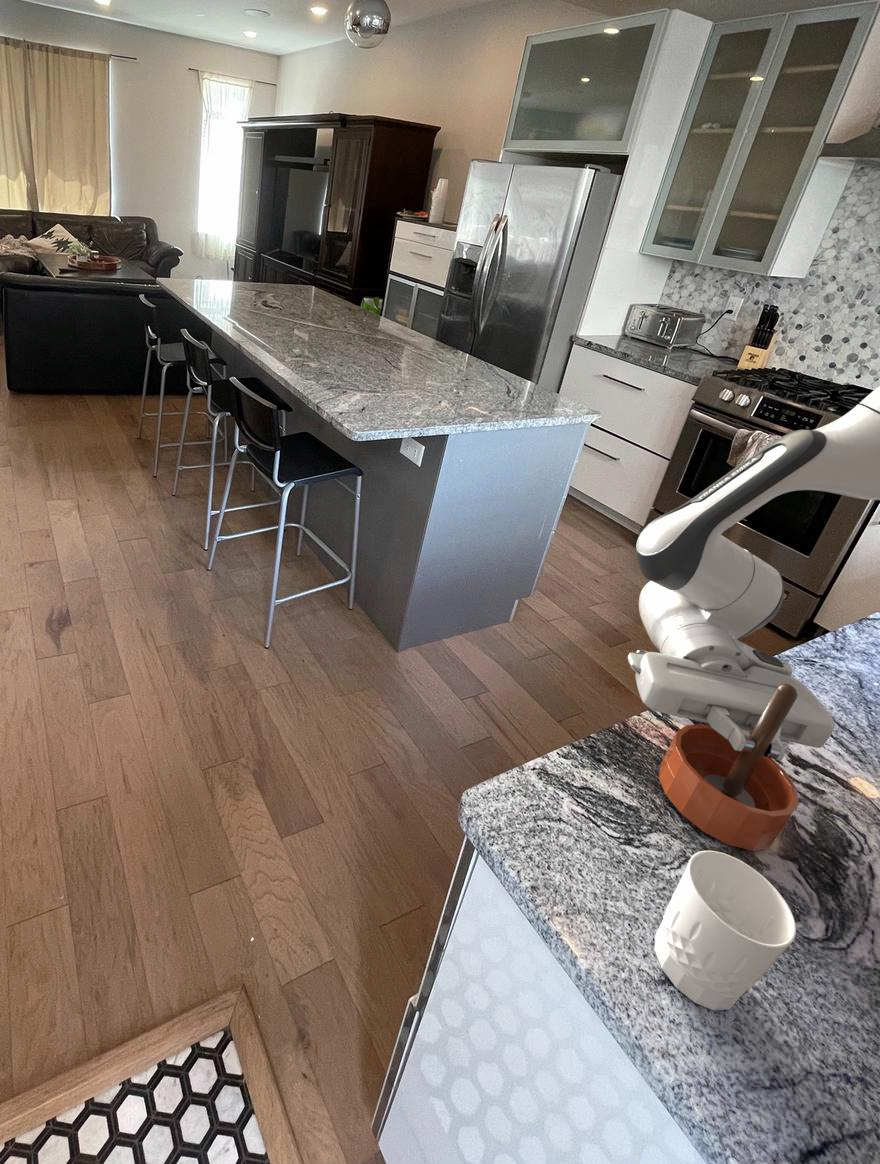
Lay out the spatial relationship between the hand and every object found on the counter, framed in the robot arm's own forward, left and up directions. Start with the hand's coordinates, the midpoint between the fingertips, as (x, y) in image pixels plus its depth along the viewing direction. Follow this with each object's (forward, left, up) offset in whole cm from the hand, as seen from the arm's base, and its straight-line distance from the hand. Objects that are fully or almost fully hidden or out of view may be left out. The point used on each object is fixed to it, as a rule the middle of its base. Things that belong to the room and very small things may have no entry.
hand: (761, 751), depth 67 cm
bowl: (0, -2, -11) cm, 11 cm away
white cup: (+10, +18, -11) cm, 23 cm away
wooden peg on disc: (0, -1, -9) cm, 10 cm away
